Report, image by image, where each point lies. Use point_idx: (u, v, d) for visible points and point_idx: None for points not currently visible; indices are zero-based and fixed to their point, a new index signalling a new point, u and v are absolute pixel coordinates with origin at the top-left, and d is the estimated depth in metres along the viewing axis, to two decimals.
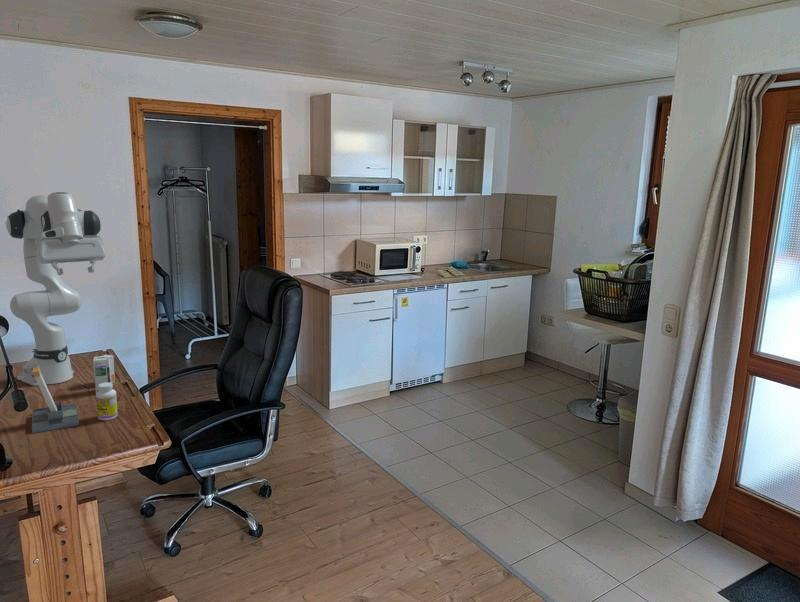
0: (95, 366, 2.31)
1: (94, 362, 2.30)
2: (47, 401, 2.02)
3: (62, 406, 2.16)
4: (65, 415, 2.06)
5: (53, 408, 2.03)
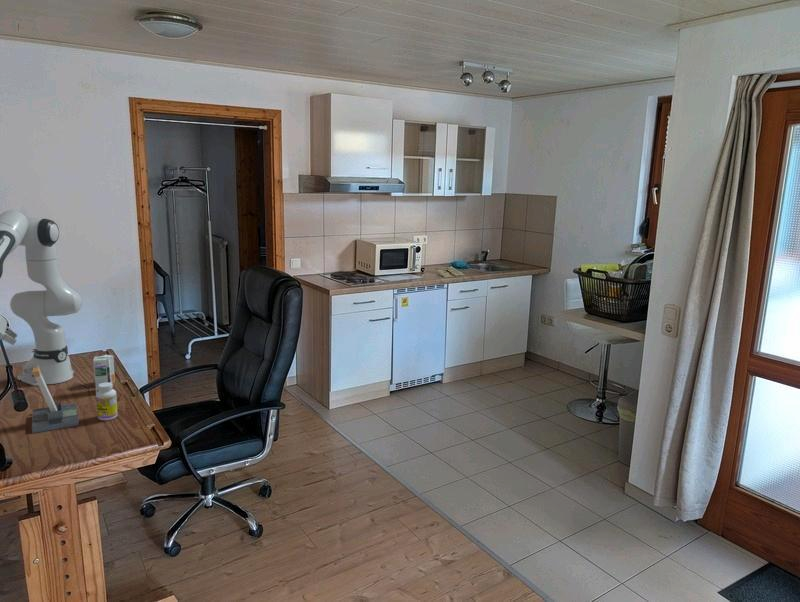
0: (95, 366, 2.31)
1: (94, 362, 2.30)
2: (47, 401, 2.02)
3: (62, 406, 2.16)
4: (65, 415, 2.06)
5: (53, 408, 2.03)
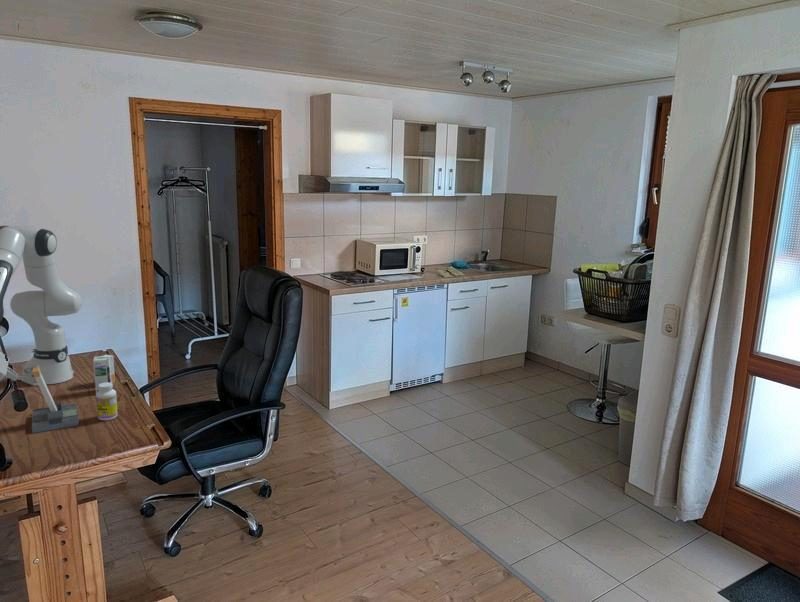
0: (95, 366, 2.31)
1: (94, 362, 2.30)
2: (47, 401, 2.02)
3: (62, 406, 2.16)
4: (65, 415, 2.06)
5: (53, 408, 2.03)
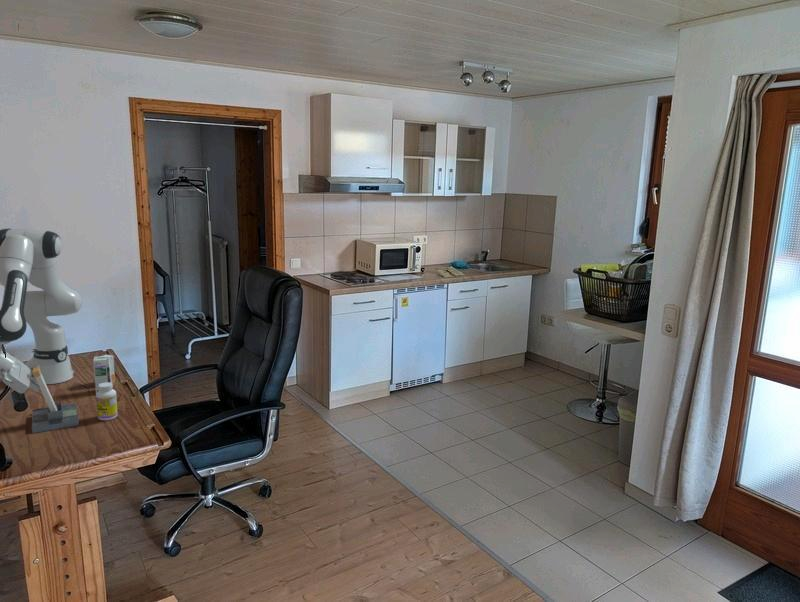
0: (95, 366, 2.31)
1: (94, 362, 2.30)
2: (47, 401, 2.02)
3: (62, 406, 2.16)
4: (65, 415, 2.06)
5: (53, 408, 2.03)
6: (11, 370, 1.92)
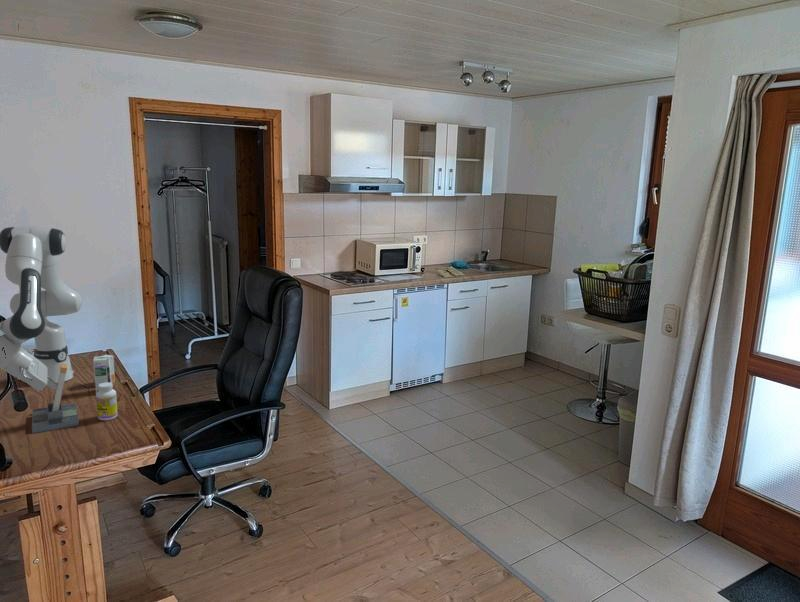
0: (95, 366, 2.31)
1: (94, 362, 2.30)
2: (56, 399, 2.03)
3: (62, 406, 2.16)
4: (65, 415, 2.06)
5: (57, 408, 2.04)
6: (29, 367, 1.95)
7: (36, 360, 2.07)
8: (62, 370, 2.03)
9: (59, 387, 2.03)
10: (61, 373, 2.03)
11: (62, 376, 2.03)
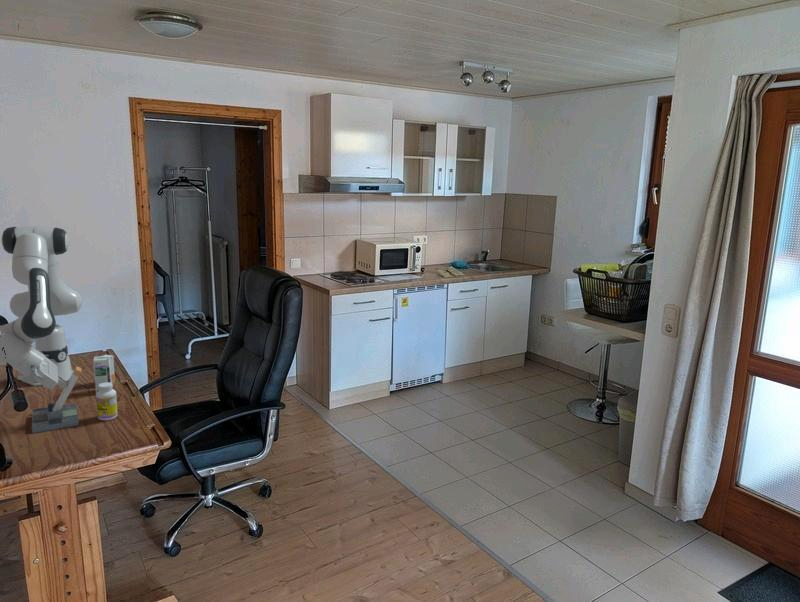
0: (95, 366, 2.31)
1: (94, 362, 2.30)
2: (61, 400, 2.04)
3: None
4: (65, 415, 2.06)
5: (59, 408, 2.04)
6: (40, 366, 1.97)
7: (46, 359, 2.08)
8: (76, 373, 2.05)
9: (68, 388, 2.05)
10: (74, 375, 2.05)
11: (74, 378, 2.05)
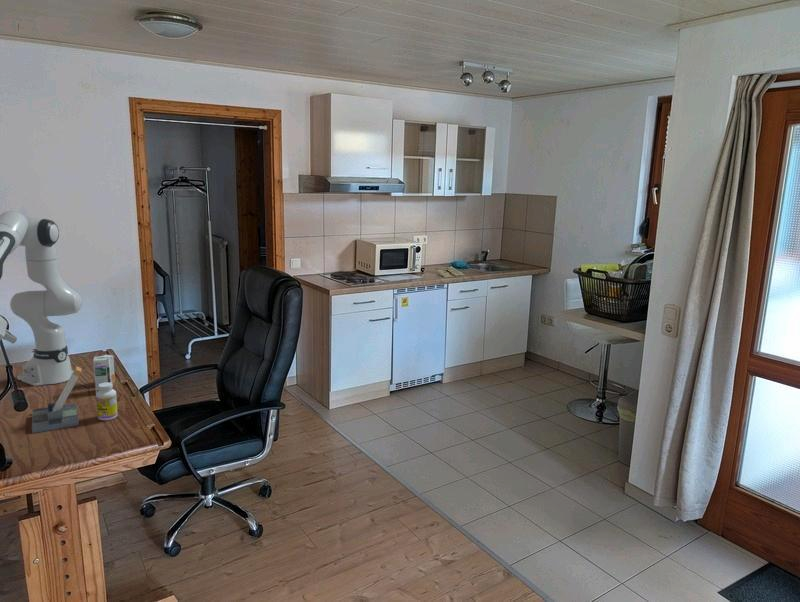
0: (95, 366, 2.31)
1: (94, 362, 2.30)
2: (61, 400, 2.04)
3: None
4: (65, 415, 2.06)
5: (59, 408, 2.04)
6: None
7: None
8: (76, 373, 2.05)
9: (68, 388, 2.05)
10: (74, 375, 2.05)
11: (74, 378, 2.05)
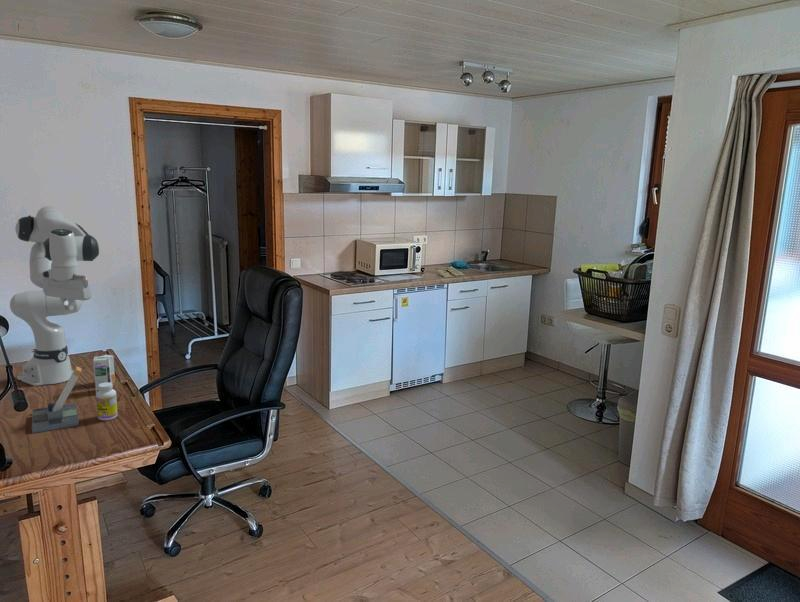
0: (95, 366, 2.31)
1: (94, 362, 2.30)
2: (61, 400, 2.04)
3: None
4: (65, 415, 2.06)
5: (59, 408, 2.04)
6: None
7: None
8: (76, 373, 2.05)
9: (68, 388, 2.05)
10: (74, 375, 2.05)
11: (74, 378, 2.05)
